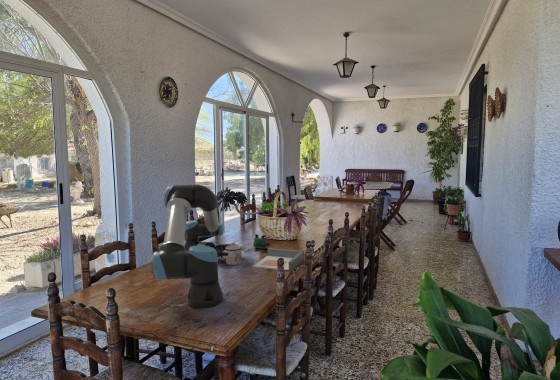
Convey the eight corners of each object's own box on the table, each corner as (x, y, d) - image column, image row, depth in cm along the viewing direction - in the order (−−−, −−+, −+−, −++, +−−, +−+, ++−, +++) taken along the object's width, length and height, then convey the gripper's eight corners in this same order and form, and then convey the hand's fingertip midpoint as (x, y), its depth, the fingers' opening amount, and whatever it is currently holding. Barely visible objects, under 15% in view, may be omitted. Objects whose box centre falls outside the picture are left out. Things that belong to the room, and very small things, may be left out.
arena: (291, 271, 198) (291, 262, 198) (253, 267, 206) (252, 258, 205) (303, 259, 219) (303, 250, 218) (268, 256, 226) (268, 248, 226)
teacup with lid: (237, 265, 209) (236, 245, 208) (222, 264, 212) (222, 244, 211) (246, 259, 220) (246, 240, 219) (232, 258, 224) (232, 239, 222)
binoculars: (271, 234, 241) (264, 235, 233) (271, 250, 242) (263, 253, 233) (259, 232, 246) (251, 234, 237) (259, 248, 246) (251, 251, 237)
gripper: (217, 249, 234) (248, 251, 227) (195, 260, 211) (229, 264, 204) (217, 237, 233) (248, 239, 226) (194, 247, 210) (228, 250, 203)
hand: (239, 251), depth 215 cm, fingers open, 13 cm apart
